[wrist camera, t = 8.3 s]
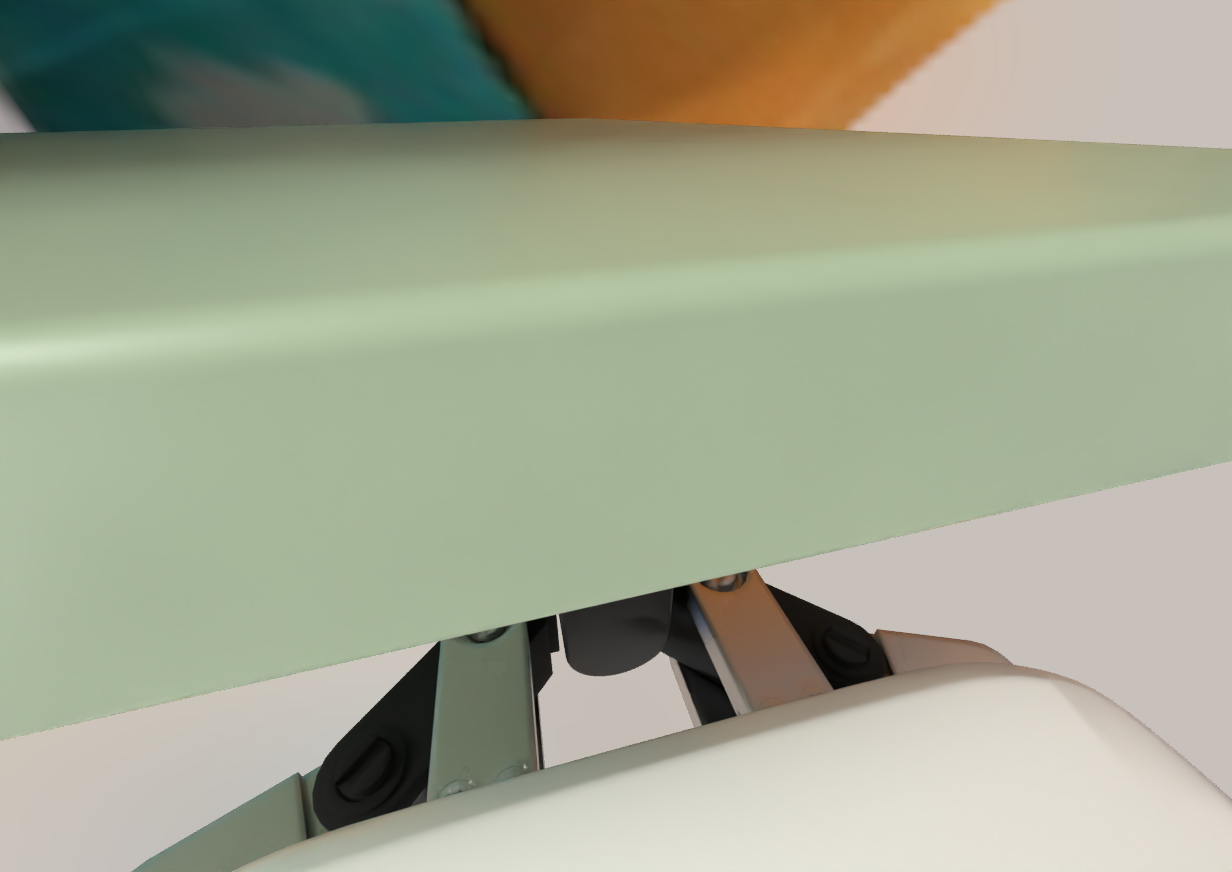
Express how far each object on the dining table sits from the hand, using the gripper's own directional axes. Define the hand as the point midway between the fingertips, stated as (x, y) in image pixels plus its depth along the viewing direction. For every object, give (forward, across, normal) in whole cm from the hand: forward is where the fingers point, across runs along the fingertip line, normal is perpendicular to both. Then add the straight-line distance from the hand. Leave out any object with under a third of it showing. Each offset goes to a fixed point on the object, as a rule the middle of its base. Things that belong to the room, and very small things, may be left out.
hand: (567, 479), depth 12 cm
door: (+8, +7, -4) cm, 11 cm away
